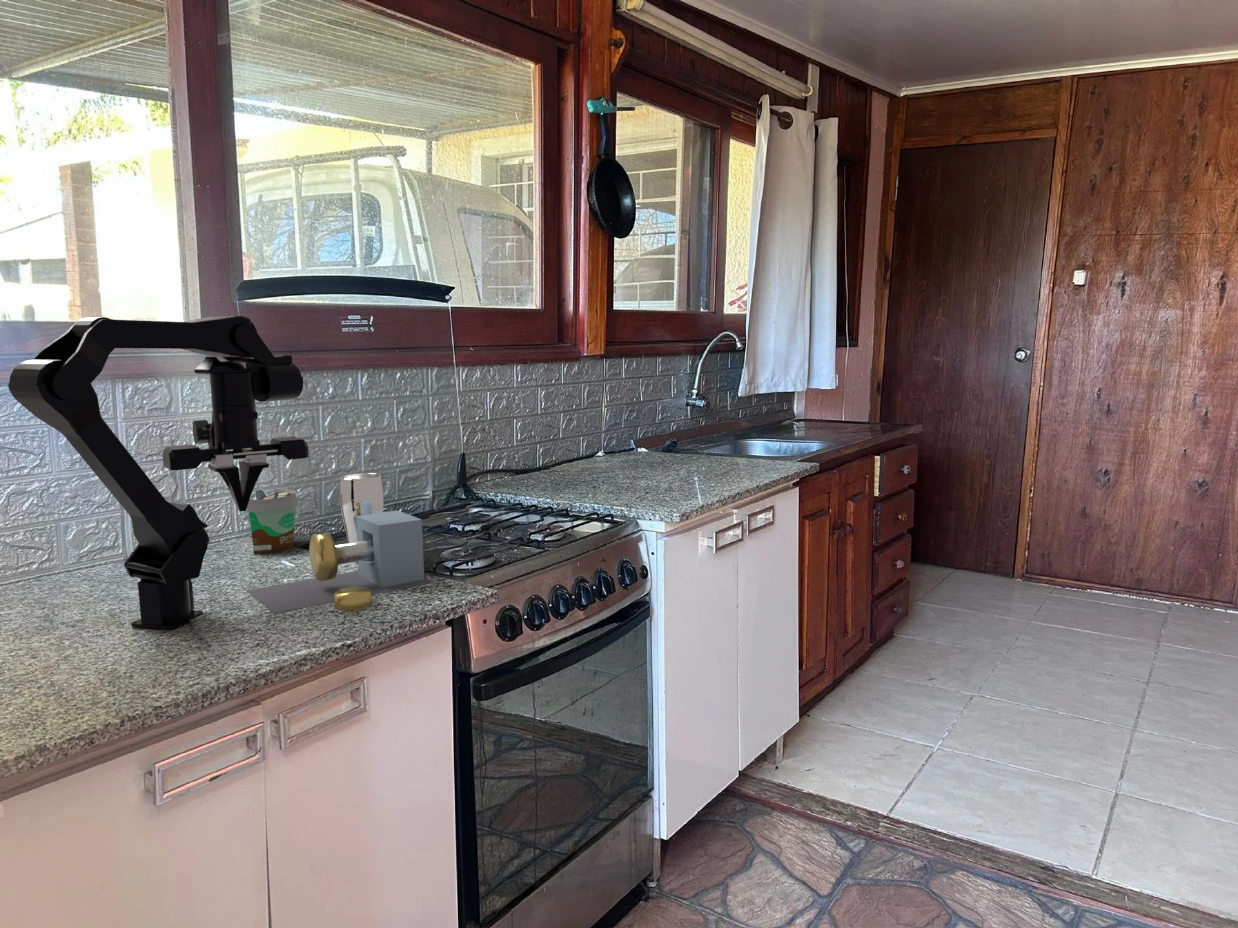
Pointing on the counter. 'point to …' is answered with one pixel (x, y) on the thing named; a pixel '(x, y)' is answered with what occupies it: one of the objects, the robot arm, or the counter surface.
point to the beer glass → (359, 500)
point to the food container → (273, 522)
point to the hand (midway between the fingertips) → (242, 511)
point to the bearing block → (392, 548)
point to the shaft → (336, 555)
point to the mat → (317, 591)
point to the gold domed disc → (352, 598)
